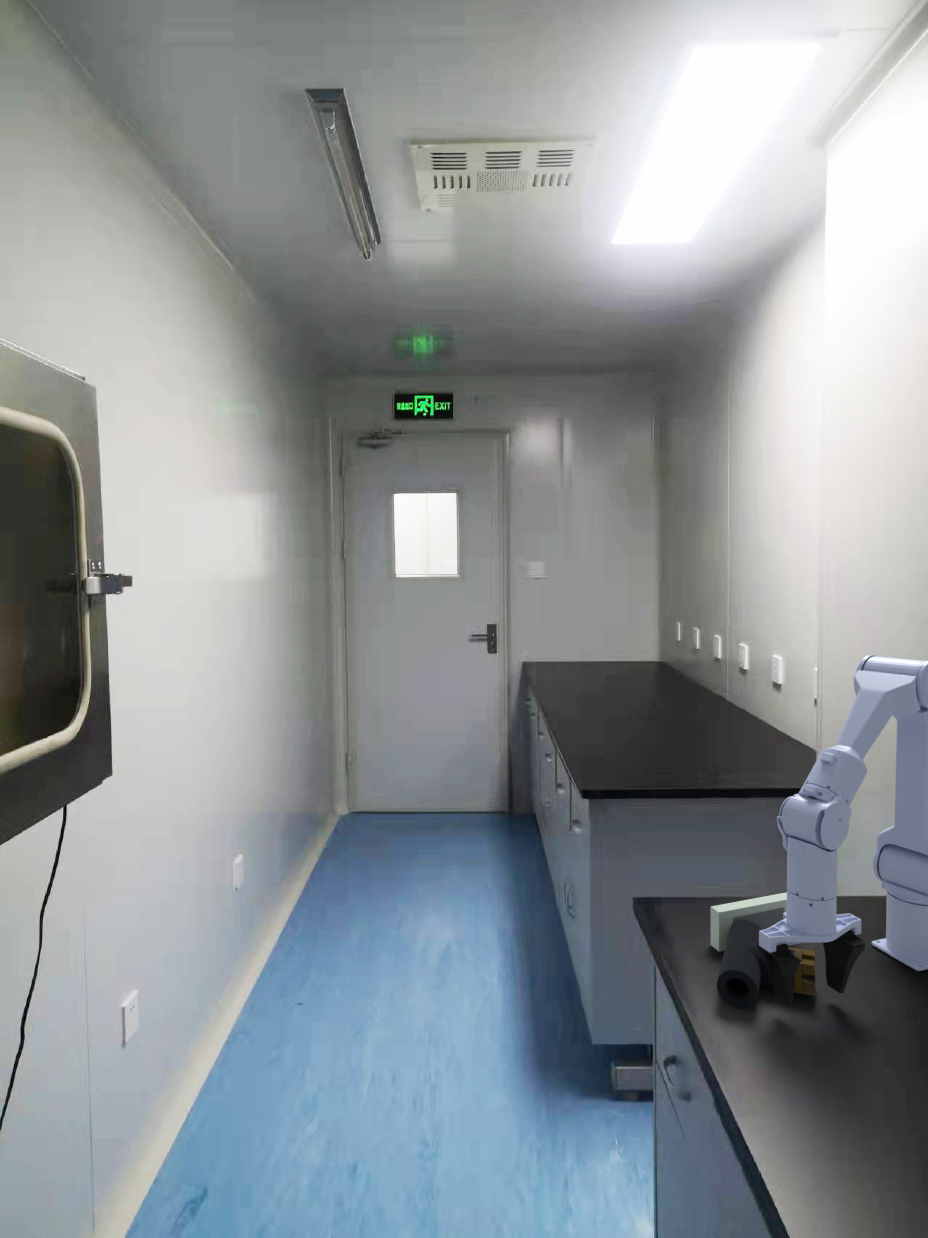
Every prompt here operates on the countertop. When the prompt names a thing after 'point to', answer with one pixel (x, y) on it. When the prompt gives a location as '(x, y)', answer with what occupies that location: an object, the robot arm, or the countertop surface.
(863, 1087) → the countertop surface
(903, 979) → the countertop surface
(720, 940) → the block
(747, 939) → the pipe connector
